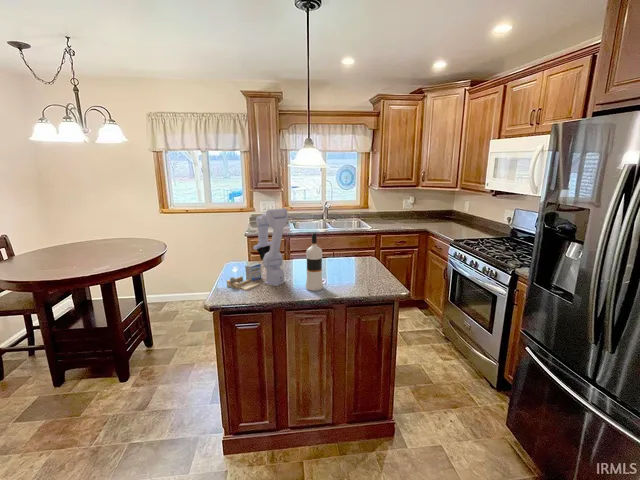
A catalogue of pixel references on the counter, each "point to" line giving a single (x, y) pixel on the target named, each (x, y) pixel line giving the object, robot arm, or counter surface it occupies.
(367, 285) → the counter surface
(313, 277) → the vodka
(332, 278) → the counter surface
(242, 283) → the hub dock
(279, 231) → the robot arm
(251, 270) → the medicine box
